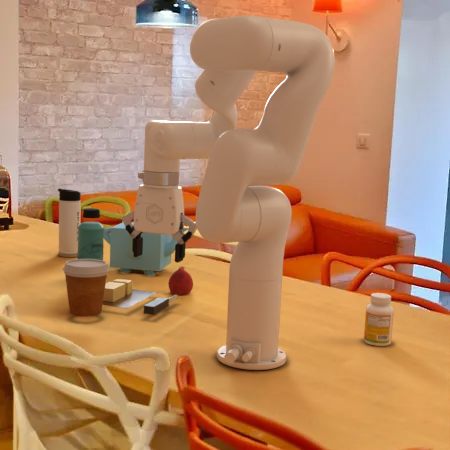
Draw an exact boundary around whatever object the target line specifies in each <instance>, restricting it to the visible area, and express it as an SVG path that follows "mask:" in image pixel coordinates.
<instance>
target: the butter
mask: <svg viewBox="0 0 450 450" xmlns="http://www.w3.org/2000/svg"><path fill="white" fill-rule="evenodd" d="M122 297H125V284H124V283H116V282H112V281H109V282H106V284H105V291H104V298H103V301H108V302H114V301H116V300H118V299H120V298H122Z"/></svg>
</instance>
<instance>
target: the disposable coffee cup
mask: <svg viewBox="0 0 450 450" xmlns="http://www.w3.org/2000/svg"><path fill="white" fill-rule="evenodd" d="M62 271H63V273H64V276H65V284H66V293H67V302H68V303H67V304H68V311H69V314H71V316H76V317H94V316H98V315H100V314H102V311H103V305H102V304H103V298H104V291H105V284H106V283H107V277H108V274H109V271H110V267H109V265H108V262H107V261H105V260H104V259H103V260H97V259H77V258H74V259H69V260H67V261H65V263H64V267H62Z"/></svg>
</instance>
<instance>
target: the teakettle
mask: <svg viewBox="0 0 450 450" xmlns="http://www.w3.org/2000/svg"><path fill="white" fill-rule="evenodd" d="M131 222H132V225H133V226H134V221H131ZM188 230H189V227H184V228H183V230H182V231H183V232H184V233H186V231H188ZM141 237H142V238H143V254H142V255H141V256H138V257H134V256H133V253H134V252H132V243H133V239H132V238H131V237H130V234H129V233H128V232H127V230H126V228H125V225H124V223H123V222H120V223H119V224H116V225H114V226H109V227H104V238H103V240H104V241H105V242H106V243H107V244H108V245H109V268H113V269H114V268H115V269H120V270H119V273H125V274H131V271H132V270H139V271H140V270H141V271H143V274H144V276H149V277H156V272H161V271H163V270H164V269H165V268H166V267H167V266H169V265H170V264H172V254H174V253H175V245H176V244H177V243H178V242H177V240H176V239H175V237H174V236H173V235H164V234H155V233H146V232H143V234H142V235H141Z"/></svg>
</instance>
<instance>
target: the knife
mask: <svg viewBox="0 0 450 450" xmlns="http://www.w3.org/2000/svg"><path fill="white" fill-rule="evenodd" d="M177 298H178V295H177V294H176V295H174V294H173V295H172V296H170V297H169V298H168V297H161V296H159V297H157V298H155V299H153V300H152V301H150V302H147V303H146V304H144V305H143V314H144V315H151V316H155V315H156V314H158V313H160V312H162V311H163V310H165V309H167V308H168V307H170V303H172V302H173V301H175V300H176V299H177Z"/></svg>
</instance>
